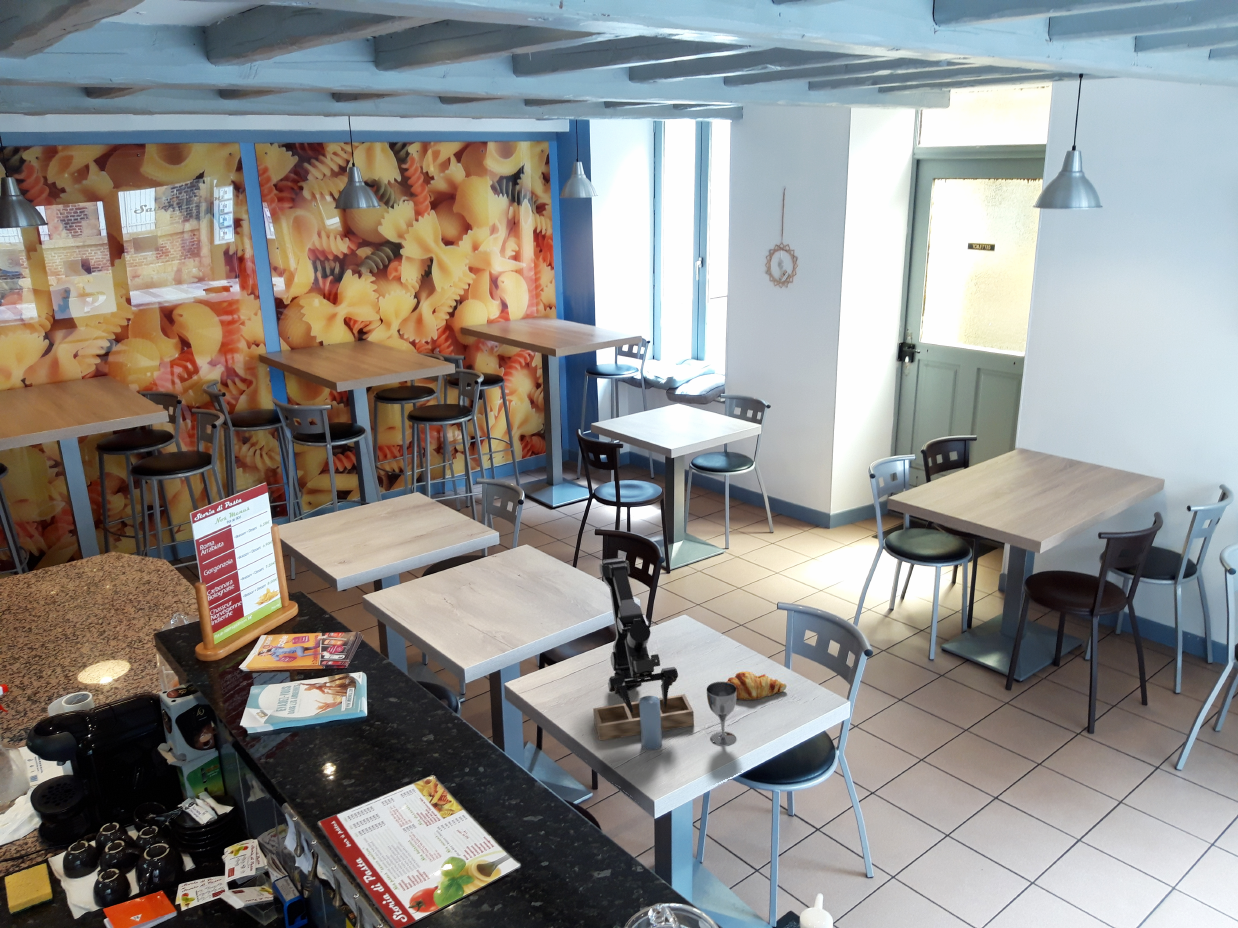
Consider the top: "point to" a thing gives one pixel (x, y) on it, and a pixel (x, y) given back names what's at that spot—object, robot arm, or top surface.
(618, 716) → the rack
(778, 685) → the croissant
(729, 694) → the wine glass
